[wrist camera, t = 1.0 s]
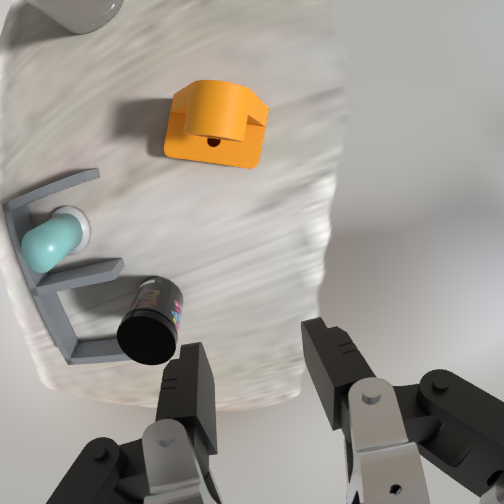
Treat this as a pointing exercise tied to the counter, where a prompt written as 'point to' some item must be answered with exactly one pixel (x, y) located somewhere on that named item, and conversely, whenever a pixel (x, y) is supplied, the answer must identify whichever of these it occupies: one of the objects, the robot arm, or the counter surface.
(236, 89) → the bracket
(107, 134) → the counter surface
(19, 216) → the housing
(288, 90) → the counter surface
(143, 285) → the supplement container
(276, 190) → the counter surface
